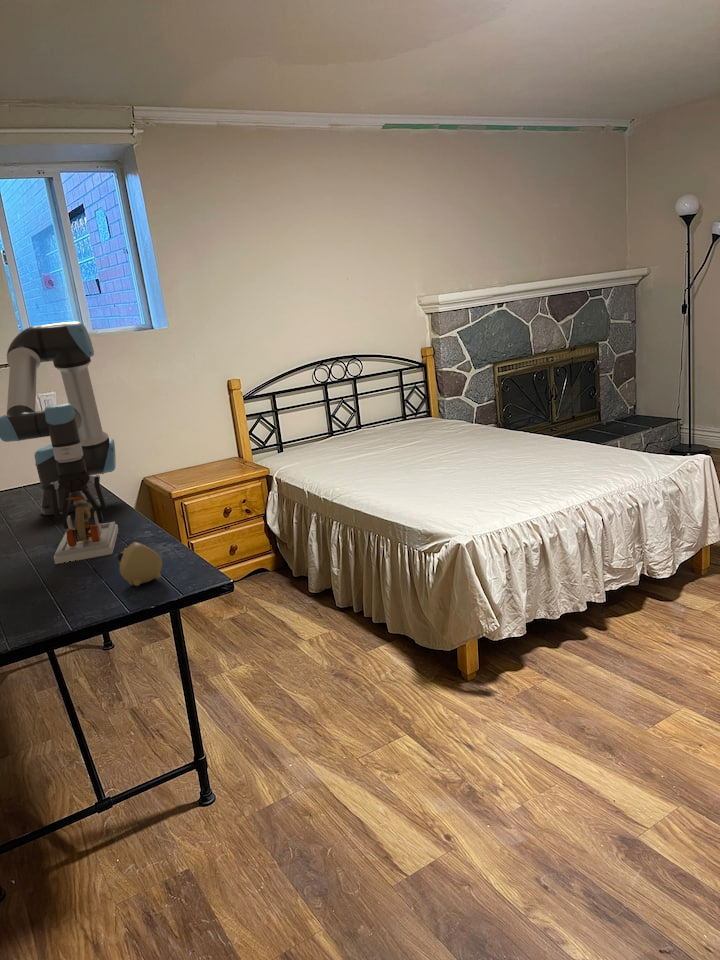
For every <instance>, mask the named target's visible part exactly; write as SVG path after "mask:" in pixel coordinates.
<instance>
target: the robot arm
mask: <svg viewBox="0 0 720 960" xmlns="http://www.w3.org/2000/svg"><path fill="white" fill-rule="evenodd" d="M94 354H95V351H94V348H93V342H92V340H91V337H90V334H89V332H88V330H87V328H86V326H85V325H84V323H82V322H81V321H66V322H65V321H64V322H56V323H50V324H49V323H48V324H42V325H33V326H30V327H27V328H25V329H23V330H21V332H19V333H18V334H17V335H16V336H15V337H14V339H12V341H11V343H10V345H9V347H8V349H7V352H6V363H7V364H8V367H9V373H8V374H9V375H8V376H9V377H8V387H7V388H8V390H7V391H8V392H7V404H6V414H5V415H2V416H1V415H0V440H1V441H2V442H4V443H8V442H9V443H10V442H19V441H26V440H33V439H39V438H45V437H50V442H51V444H49V445H46V446H44V447H40V448H39V449H37V450H36V451H35V452H34V460H35V466H36V470H37V475H38V478H39V479H38V480H39V483H40V486H41V491H42V492H41V501H40V511H41V514H42V515H44V516H54V518H56V519H57V518H58V519H59V518H60V519H62V524H63V527H64V529H65V530H68V529H74V526H73V521H72V516H71V515H68V514H69V513H72V512H75V510H76V507H77V506H75V505H74V504H73V502H74V501H73V500H66V499H67V498H73V497H77V496H79V495H81V496H83V497H84V499H87V500H89V502H90V503H89V504H90V505H91V506H92V508H93V509H94V513H93V517H94V522H95V525H97V526H98V529H99V534H100V535H101V534H102V530H101V526H100V524H103V523H104V516H103V511H104V510H107V508H108V507H107V506H108V505H107V502H106V498H105V495H104V492H103V489H102V486H101V477H100V475H104V474H107V473H112V472H114V471H115V470H116V463H117V461H116V460H117V459H116V447H115V446H116V444H115V440H114V439H113V438H109V437H110V436H109V435H108V433H107V432H106V431H103V427H102V421H101V419H100V415H99V411H98V406H97V405H98V404H97V402H96V397H95V394H94V389H93V385H92V379H91V376H90V372H89V367H88V366H89V365H90V364H91V362H92V361H91V358H92V357H93V356H95V355H94ZM44 362H52V363H53V367H54V369H55V368H56V369H57V370H59V371H60V375H61V378H62V382H63V386H64V391H65V394H66V398H67V401H68V403H67V402H66V403H65V402H64V403H58V404H52V405H49V406H46V407H45V408H44V410H39V411H36V403H37V402H36V398H37V397H36V396H37V371H38V369H39V367H40V365H41V363H44ZM89 481H90V482H91V483H92V484H94V489H95V492H96V495H97V497H98V500H99V503H100V504H99V503H98V501H97V500H96V499H95V497H94V495H93V494H92V492H91V491H90V488H89V487H88V483H89Z"/></svg>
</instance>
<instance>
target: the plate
mask: <svg viewBox="0 0 720 960" xmlns="http://www.w3.org/2000/svg"><path fill="white" fill-rule="evenodd" d="M93 525H94V524H92V525H90V527H91V526H93ZM100 526H101V530H102V534H101V535H100V541H99V542H93V541H92V538H91V537H89V538H88V540H86V541H80V542H77V544H76V546H72V547H70V546H69V545H68V541H67V534H66V532H67V530H69V529H67V530H66V531H65V533H64V535H63V537H62V539H61V540H60V542H59V544H58V546H57V548H56V550H55V552H54V556H53V562H54V564H55V565H58V564H59V563H60V564H65V563H70V562H69V561H71V562H76V561H81V560H86V559H92V558H97V557H98V558H99V557H105V556H108V555H112V554H114V553H113V552H114V548H115V545H116V542H117V539H118V538H117V537H118V535H117V534H119V531H118V530H119V527H118V524H116V521H110V522H105V523H104V522H102V523H100ZM73 529H74V528H73ZM74 530H75V529H74ZM89 533H91V532H90V530H89ZM75 560H76V561H75ZM64 562H65V563H64Z"/></svg>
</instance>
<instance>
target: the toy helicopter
mask: <svg viewBox="0 0 720 960" xmlns="http://www.w3.org/2000/svg"><path fill="white" fill-rule="evenodd" d="M84 497H85V496H84ZM84 497H83V496H81V495H79V496H77V497H73V498H67V499H66V500H73V501H74V502H73V504H74V505H75V506H77V507H76V510H75V511H74V514H75V516H74V523H75V526H73V529H69V530H68V529H66V531H67V532H66V531H65V533H66V534H67V541H68V545H69V546H70V547H72V546H76V544H77V542H80V541H86V540H88V538H89V537H91V538H92V541H93V542H99V541H100V534H99V529H98V526H97V525H96V524H92V525H93V526H92V525H91V524H90V521H89V520H90V519H91V516H92V515H91V507H90V504H91V503H90V502H89V500H88V499H87V498H86V499H84ZM90 526H91V527H90ZM74 529H75V530H74ZM89 530H90V532H91V533H89Z"/></svg>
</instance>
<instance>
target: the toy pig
mask: <svg viewBox="0 0 720 960" xmlns="http://www.w3.org/2000/svg"><path fill="white" fill-rule="evenodd" d="M117 560H118V564H119V573H120V575H121V576H122V578H123V579H124V580H125V581H127V582H128V583H129V586H136V587H139V586H140V585H141V584H142V585H143V584H146V583H149V582H151V581H153V580H154V579H157V580H158V579H160V578H161V577H162V574H161V571H162V568H163V559H162V557H161V555H159V554H158V553H157V552H156V551H155V550H153V549H152V548H150V547H149V546H147V545H145V544H143V543H141V542H137V541H133V542H132V543H130V544H129V545H128V547H125V548H123V551H121V552H119V553H118V554H117Z"/></svg>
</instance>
